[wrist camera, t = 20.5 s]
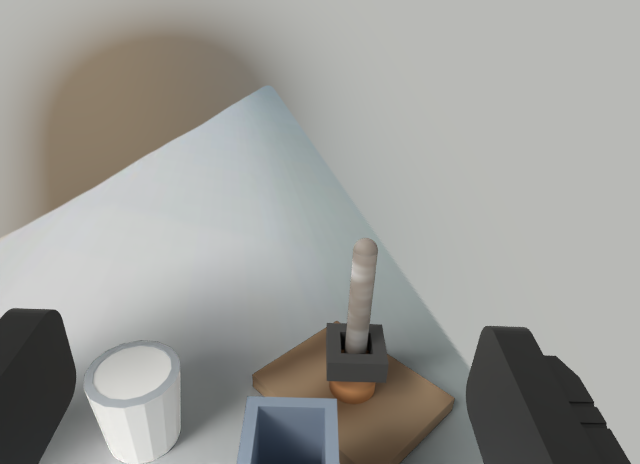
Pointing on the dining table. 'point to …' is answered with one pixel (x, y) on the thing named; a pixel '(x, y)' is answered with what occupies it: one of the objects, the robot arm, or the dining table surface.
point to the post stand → (361, 383)
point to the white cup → (136, 399)
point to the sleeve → (289, 431)
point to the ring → (355, 356)
